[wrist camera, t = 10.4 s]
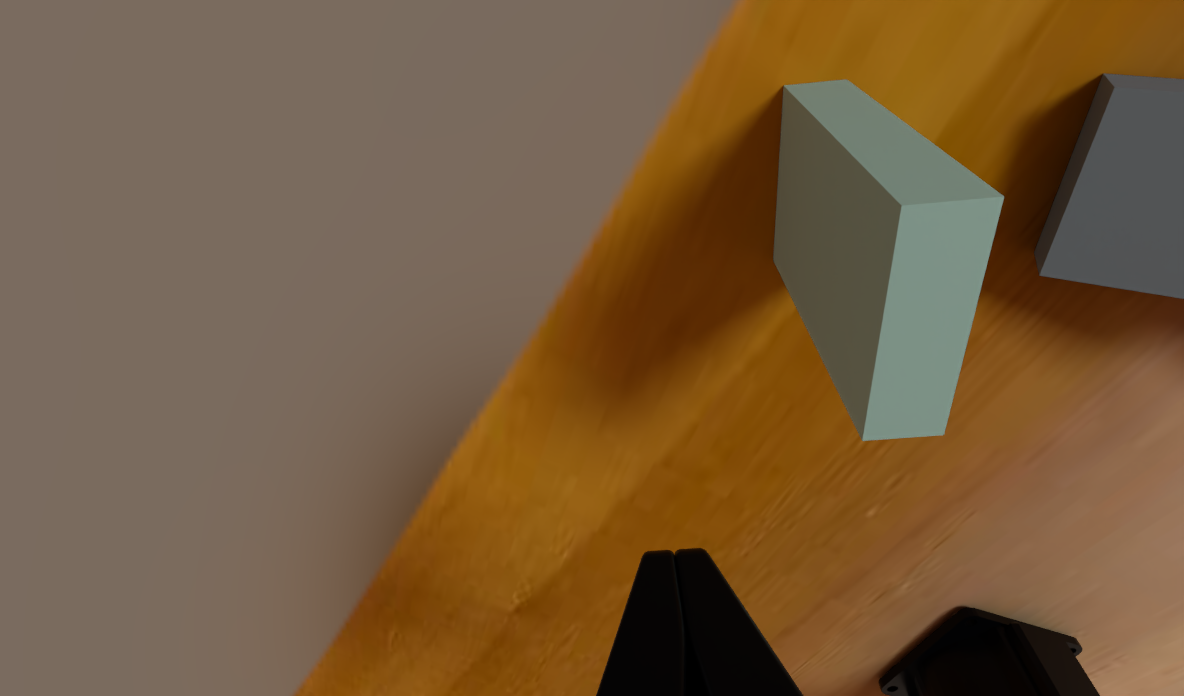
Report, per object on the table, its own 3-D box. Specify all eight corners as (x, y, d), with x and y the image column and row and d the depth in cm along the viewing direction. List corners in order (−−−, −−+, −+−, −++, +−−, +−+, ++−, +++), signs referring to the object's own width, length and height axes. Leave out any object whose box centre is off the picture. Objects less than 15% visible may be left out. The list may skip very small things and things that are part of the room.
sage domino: (846, 79, 18) (1004, 196, 11) (827, 255, 20) (944, 434, 14) (783, 85, 18) (901, 206, 11) (773, 260, 20) (862, 440, 14)
